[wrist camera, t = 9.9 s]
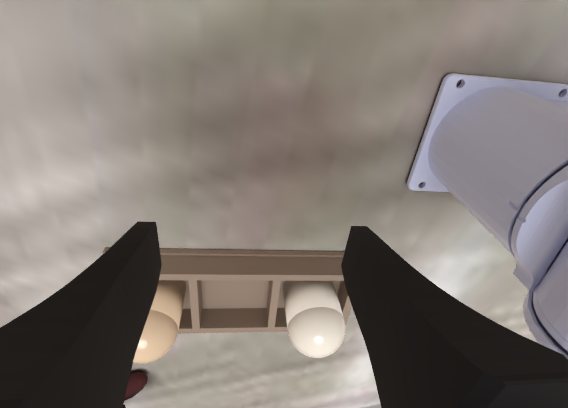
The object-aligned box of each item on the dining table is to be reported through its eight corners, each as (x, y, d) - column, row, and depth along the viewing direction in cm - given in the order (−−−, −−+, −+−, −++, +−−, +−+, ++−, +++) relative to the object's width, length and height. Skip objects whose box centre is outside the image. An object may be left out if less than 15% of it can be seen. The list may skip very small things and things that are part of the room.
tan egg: (182, 265, 26) (167, 336, 20) (189, 302, 28) (177, 374, 23) (123, 268, 25) (93, 341, 20) (135, 305, 28) (111, 379, 22)
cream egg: (337, 268, 27) (358, 332, 22) (328, 303, 30) (345, 369, 25) (285, 267, 27) (294, 334, 22) (280, 303, 29) (287, 371, 24)
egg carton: (355, 251, 27) (364, 273, 25) (339, 308, 31) (345, 331, 29) (105, 247, 25) (92, 271, 23) (121, 310, 28) (111, 336, 26)
